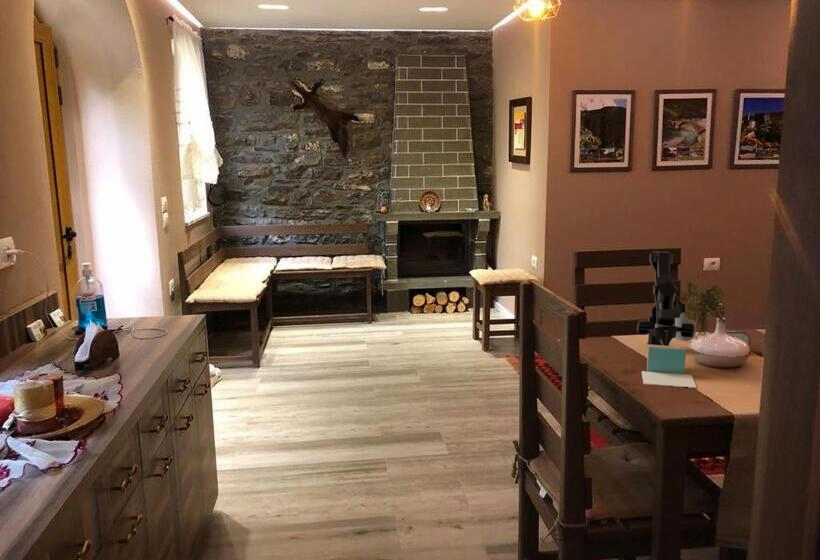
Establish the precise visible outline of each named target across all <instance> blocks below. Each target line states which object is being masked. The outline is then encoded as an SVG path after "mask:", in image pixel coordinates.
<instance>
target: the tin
mask: <svg viewBox="0 0 820 560" xmlns="http://www.w3.org/2000/svg"><path fill="white" fill-rule="evenodd" d="M725 330H726V333H727V334H728V335H730V336H732V337H736V338H738V339H741V340H743V341H745V342H746V343H747V344H748V345H749V347H750V346H751V342H752V341H751V337H750V336H749V334H748V333H747V332H746V331H745V330H742V329H725ZM714 331H715V330H713V331H711V333H713V332H714Z"/></svg>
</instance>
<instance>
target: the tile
mask: <svg viewBox="0 0 820 560" xmlns="http://www.w3.org/2000/svg"><path fill="white" fill-rule="evenodd" d="M686 355H687V348H686V346H680V345H679V346H677V345H669V346H664V345H648V344H647V359H646V361H647V363H646V372H660V373H674V374H686V371H685V370H686V359H687V356H686Z"/></svg>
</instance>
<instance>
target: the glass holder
mask: <svg viewBox="0 0 820 560" xmlns="http://www.w3.org/2000/svg"><path fill="white" fill-rule="evenodd" d="M680 301H681V300H679V301H676V307H675V308H680V318H675V324H674V326H682V323H693V324H694V327H695V330H694V334H693V337H683V336H681V332H677V333H676V338H674V339H676V340H675V341H677V340H681V341H680V342H682V341H689V340H691V339H693V338H694V337H695V338H696V329H697V321H696V322H695V321H694V320H690V319H688V318H686V316H685V314H684V312H685V305H684V304H682V303H680ZM674 339H673V340H674Z"/></svg>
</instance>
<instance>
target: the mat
mask: <svg viewBox="0 0 820 560" xmlns="http://www.w3.org/2000/svg"><path fill="white" fill-rule="evenodd" d="M641 376H642V383H643V385H644V386H657V385H658V386H659V387H670V386H673V387H675V388H683V387H688V388H687V389H697V386H696V383H695V380H694V378H693V375H692V374H686V373H685V374H674V373H660V372H647V370H646V371H645V370H644V371H643V370H642V371H641ZM673 387H672V388H673Z"/></svg>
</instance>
